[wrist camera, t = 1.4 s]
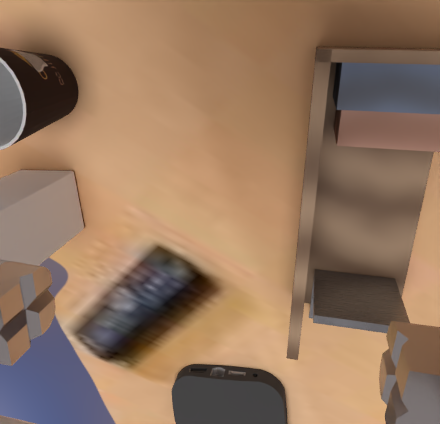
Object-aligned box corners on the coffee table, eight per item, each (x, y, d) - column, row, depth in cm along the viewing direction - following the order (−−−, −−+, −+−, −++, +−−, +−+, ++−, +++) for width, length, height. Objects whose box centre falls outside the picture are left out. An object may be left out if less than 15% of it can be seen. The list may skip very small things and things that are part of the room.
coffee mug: (103, 106, 42) (45, 124, 33) (44, 141, 45) (-24, 166, 36) (39, -5, 39) (-43, -18, 30) (-20, 41, 42) (-110, 41, 33)
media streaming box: (187, 439, 59) (181, 458, 57) (173, 359, 54) (165, 376, 51) (289, 452, 56) (287, 473, 53) (284, 368, 51) (283, 386, 48)
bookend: (314, 269, 43) (314, 315, 36) (395, 278, 41) (411, 328, 34) (309, 314, 45) (307, 366, 38) (385, 325, 44) (399, 381, 36)
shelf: (316, 46, 36) (316, 49, 27) (452, 49, 34) (502, 52, 25) (292, 295, 46) (286, 358, 37) (395, 309, 44) (416, 379, 35)
